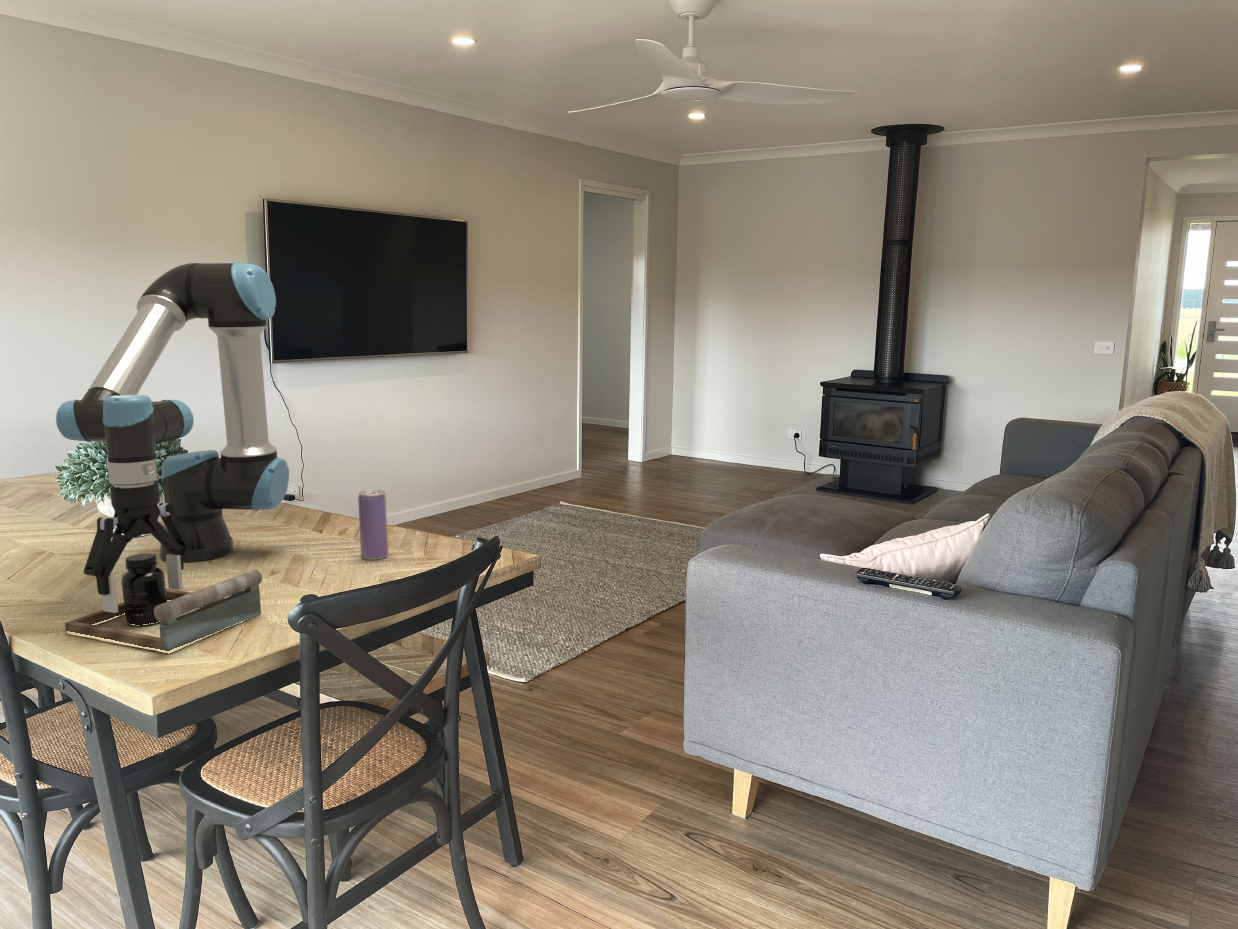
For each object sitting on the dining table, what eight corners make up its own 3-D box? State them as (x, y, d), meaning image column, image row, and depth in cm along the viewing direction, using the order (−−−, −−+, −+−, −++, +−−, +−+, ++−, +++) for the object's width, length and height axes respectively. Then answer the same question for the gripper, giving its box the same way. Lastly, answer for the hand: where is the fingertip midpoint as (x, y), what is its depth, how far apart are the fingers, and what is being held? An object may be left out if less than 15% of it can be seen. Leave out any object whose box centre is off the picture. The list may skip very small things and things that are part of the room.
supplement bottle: (136, 614, 162) (130, 551, 160) (174, 613, 163) (169, 550, 160) (118, 627, 155) (111, 562, 153) (158, 626, 156) (152, 561, 154)
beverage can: (380, 561, 196) (377, 495, 193) (356, 559, 197) (352, 494, 194) (392, 554, 201) (390, 490, 199) (368, 552, 203) (365, 488, 200)
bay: (64, 634, 152) (59, 588, 150) (166, 597, 171) (162, 555, 170) (170, 655, 143) (165, 606, 142) (264, 614, 162) (261, 570, 161)
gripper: (84, 499, 141) (96, 624, 145) (207, 473, 164) (215, 582, 168) (51, 495, 144) (64, 619, 148) (176, 470, 167) (185, 578, 171)
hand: (144, 600), depth 158 cm, fingers open, 13 cm apart
